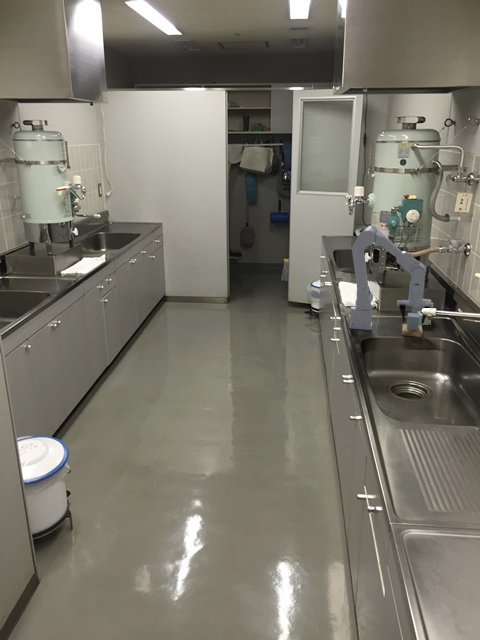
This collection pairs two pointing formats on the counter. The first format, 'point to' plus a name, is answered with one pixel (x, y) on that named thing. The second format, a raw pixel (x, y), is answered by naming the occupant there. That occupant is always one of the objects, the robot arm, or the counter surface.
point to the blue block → (412, 321)
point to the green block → (426, 321)
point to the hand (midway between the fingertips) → (412, 322)
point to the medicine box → (415, 309)
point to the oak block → (412, 331)
